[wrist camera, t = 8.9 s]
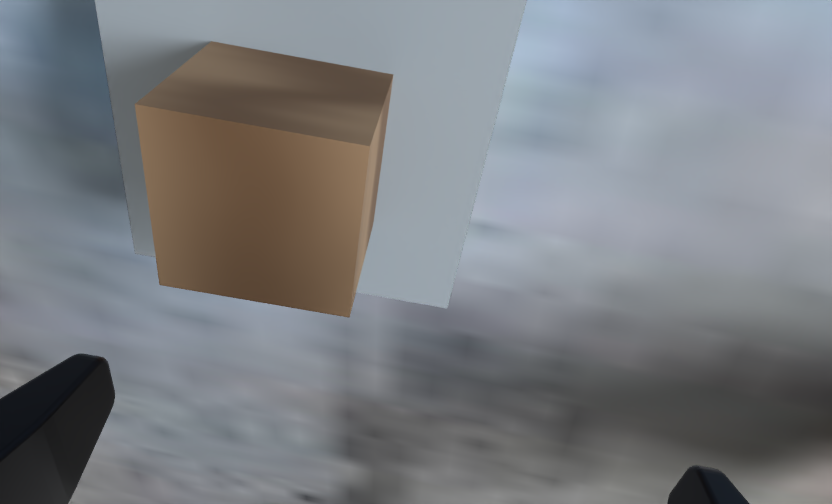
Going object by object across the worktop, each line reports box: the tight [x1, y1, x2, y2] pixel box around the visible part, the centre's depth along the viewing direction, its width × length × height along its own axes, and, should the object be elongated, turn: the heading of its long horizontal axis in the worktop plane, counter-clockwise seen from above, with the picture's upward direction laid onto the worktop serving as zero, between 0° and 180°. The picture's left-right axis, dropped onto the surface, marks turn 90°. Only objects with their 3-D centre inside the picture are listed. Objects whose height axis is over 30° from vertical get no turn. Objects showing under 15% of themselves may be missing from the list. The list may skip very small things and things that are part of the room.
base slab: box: [95, 0, 527, 308], centre depth 17 cm, size 10×10×3 cm
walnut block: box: [135, 41, 394, 317], centre depth 14 cm, size 4×4×4 cm
